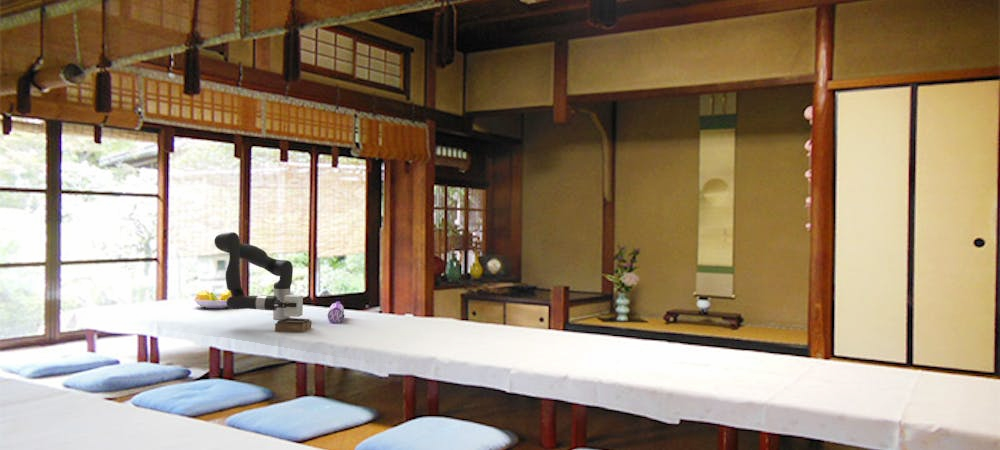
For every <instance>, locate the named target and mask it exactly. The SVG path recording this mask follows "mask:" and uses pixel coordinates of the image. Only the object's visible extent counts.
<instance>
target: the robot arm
mask: <svg viewBox="0 0 1000 450" xmlns="http://www.w3.org/2000/svg"><path fill="white" fill-rule="evenodd" d="M214 245H215V247H216V248H217V249H218V251H222V252H224V253H228V254H229V261H228V264H227V267H226V270H225V284H226V289H227V290H230V291H231V295H232V296H230V297H229V298H228V299H227V301H226V303H227V306H228V308H229V309H231V310H248V309H249V310H260V311H272V312H273V313H272V316H273V317H272V319H273V320H282V319H285V318H291V316H284V308H286V307H287V308H288V307H296V303H289V302H285V301H284V296H286V295H291V285H292V283H293V273H294V269H293V264H292V262H291V261H290V260H285V259H284V260H283V259H276V258H273V257H270V256H268V254H267V252H266V251H265V250H264V249H262V248H260V247H258V246H255V245H252V244H248V243H243V242H241V240H240V236H239V234H237V233H236V232H223V233H220V234H218V235H216V236H215V238H214ZM241 259H242V260H244V261H246V262H248V263H250V264H252V265H254V266H257V267H259V268H262V269H263V270H266V271H268V272H269V273H270V274H272V275H274V276H276V277H279V280H278V281H276V282H275V283H273V294H272V295H246V296H245V293H244V290H243V289H244V288H243V287H242V282H241V281H242V280H241V275H240V260H241Z"/></svg>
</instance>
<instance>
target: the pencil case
mask: <svg viewBox="0 0 1000 450" xmlns="http://www.w3.org/2000/svg"><path fill="white" fill-rule="evenodd" d="M345 317H346V316H345V308H344V305H343V304H342V303H341V301H335V302H334V303H331V305H330V306H329V310H328V312H327V319H328V321H329V322H330V323H332V324H340V323H341V322H342V321H343V320H344V318H345Z"/></svg>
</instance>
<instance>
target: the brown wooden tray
mask: <svg viewBox="0 0 1000 450" xmlns="http://www.w3.org/2000/svg"><path fill="white" fill-rule="evenodd" d="M274 325H275V326H274V333H299V332H302V333H304V332H307V331H309V330H310V329H312V320H310V318H291V317H290V318H285V319H279V321H277V322H276V323H274Z"/></svg>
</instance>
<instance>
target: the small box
mask: <svg viewBox="0 0 1000 450" xmlns="http://www.w3.org/2000/svg"><path fill="white" fill-rule="evenodd" d="M303 299H304V295H297V294H290V295H286V296H284V301H285V302H289V303H296V307H288V308H287V307H286V308H284V316H290V317H294V318H299V317H302V316H303V312H304V311H303V307H304V306H303V305H304V302H303V301H304V300H303Z"/></svg>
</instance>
